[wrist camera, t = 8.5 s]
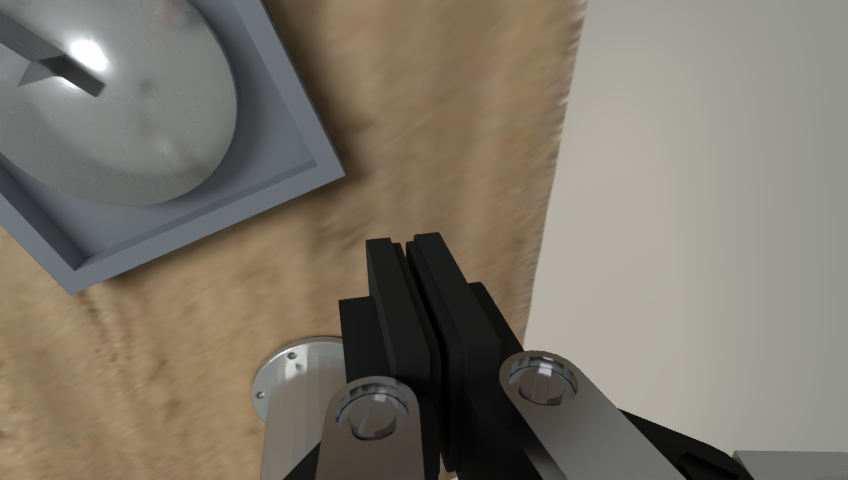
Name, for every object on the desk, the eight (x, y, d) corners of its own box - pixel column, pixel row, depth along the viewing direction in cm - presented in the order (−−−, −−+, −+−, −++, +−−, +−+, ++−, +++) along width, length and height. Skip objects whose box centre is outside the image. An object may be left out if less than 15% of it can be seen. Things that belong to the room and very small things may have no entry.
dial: (283, 72, 32) (278, 85, 26) (169, 232, 35) (145, 272, 30) (42, -116, 25) (-29, -147, 20) (-71, 105, 28) (-158, 128, 23)
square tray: (342, 163, 37) (345, 175, 34) (87, 274, 36) (70, 295, 34) (175, -183, 26) (159, -204, 23) (-195, -30, 25) (-254, -33, 23)
